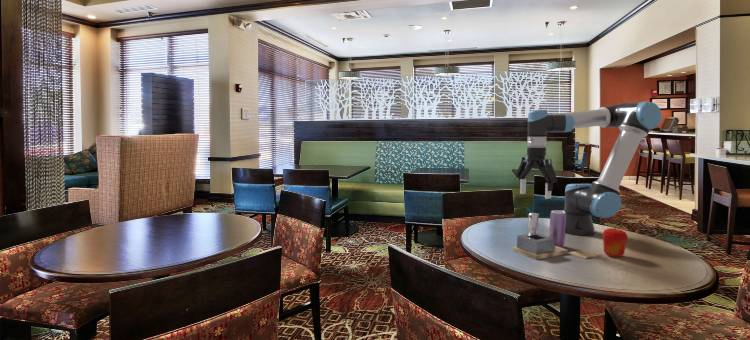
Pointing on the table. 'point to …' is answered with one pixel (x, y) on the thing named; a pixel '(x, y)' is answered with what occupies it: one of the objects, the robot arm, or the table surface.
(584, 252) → the cork coaster
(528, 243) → the socket block
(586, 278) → the table surface
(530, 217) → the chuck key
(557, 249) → the oak board
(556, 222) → the beverage can
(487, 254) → the table surface
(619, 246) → the apple
